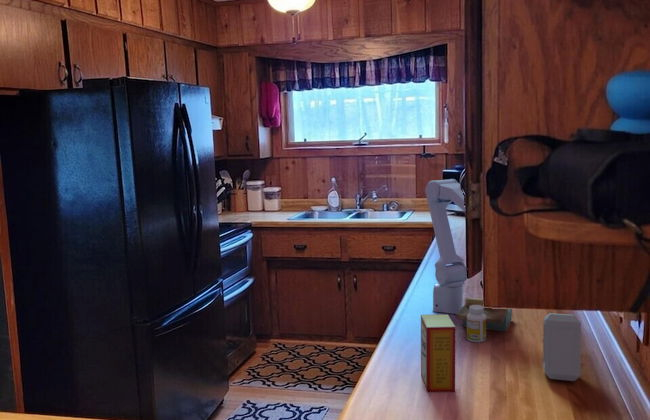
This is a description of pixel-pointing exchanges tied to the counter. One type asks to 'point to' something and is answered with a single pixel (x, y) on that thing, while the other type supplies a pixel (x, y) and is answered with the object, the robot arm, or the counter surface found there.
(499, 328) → the teal shallow tray
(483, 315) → the supplement bottle
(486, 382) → the counter surface
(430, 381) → the baking soda box
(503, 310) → the lid
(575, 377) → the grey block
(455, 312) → the robot arm
